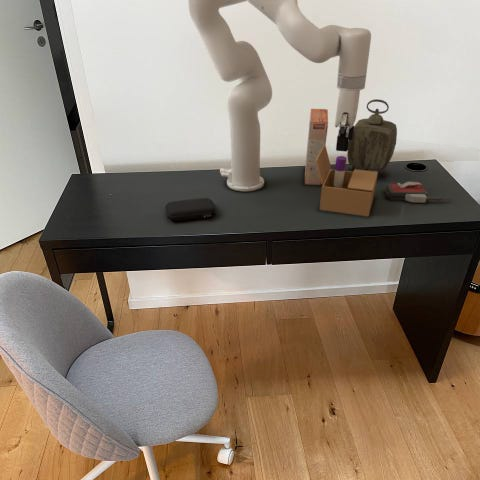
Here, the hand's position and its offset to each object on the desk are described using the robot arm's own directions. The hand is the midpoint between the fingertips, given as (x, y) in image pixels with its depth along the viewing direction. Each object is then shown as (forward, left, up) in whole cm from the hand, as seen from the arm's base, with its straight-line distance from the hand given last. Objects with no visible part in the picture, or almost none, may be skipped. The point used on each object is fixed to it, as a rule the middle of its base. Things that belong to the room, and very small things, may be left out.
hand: (344, 144), depth 144 cm
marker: (0, 0, -18) cm, 18 cm away
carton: (+3, 0, -18) cm, 19 cm away
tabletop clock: (+6, +24, -19) cm, 31 cm away
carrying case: (-41, -21, -19) cm, 50 cm away
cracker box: (-11, +17, -19) cm, 28 cm away
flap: (-5, 0, -6) cm, 8 cm away
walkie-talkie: (+23, +11, -19) cm, 32 cm away
